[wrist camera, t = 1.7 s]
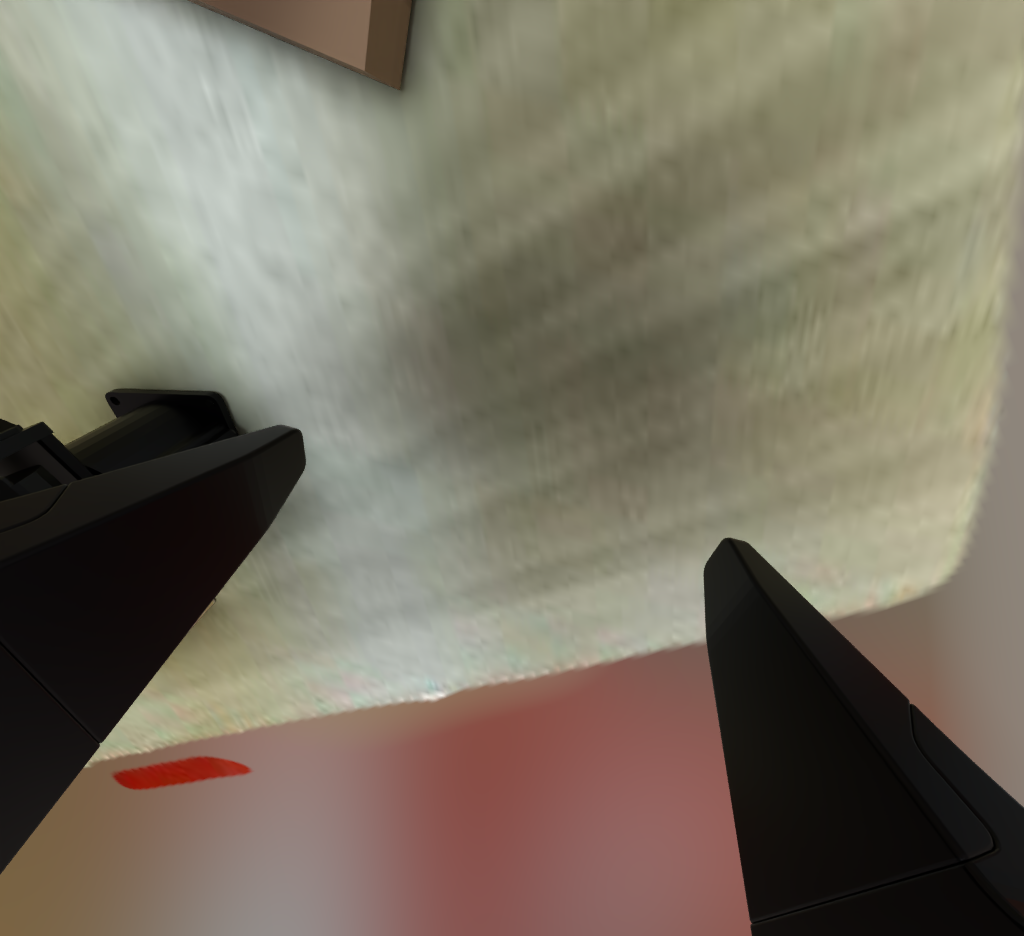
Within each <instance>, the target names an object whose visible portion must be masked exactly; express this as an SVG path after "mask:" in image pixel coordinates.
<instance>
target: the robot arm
mask: <svg viewBox="0 0 1024 936" xmlns="http://www.w3.org/2000/svg"><path fill="white" fill-rule="evenodd" d="M105 398H106V400H107V402H108V404H109V405H110V407H111V409H112V410H113V412H114V414H115V415H116V417H117V418H116V419H114V420H112V421H111V422H109V423H107V424H105V425H103V426H101V427H99V428H97V429H95V430H93V431H91V432H89V433H87V434H86V435H84V436H82V437H80V438H78V439H76V440H74V441H72V442H70V443H68V444H66V445H63V444H62V443H61V442H60V441H59V440H58V439H57V438H56V437H55V436H54V435H53V434H52V433H53V431H52V430H51V429H50V428H49V427H48V426H47V425H46V424H45V423H44V422H43V421H42V422H40V423H37V424H35V425H32V426H29V427H27V428H24V429H23V428H22V427H21V426H20V425H15V424H12V423H10V422H7V421H5V420H2V419H0V874H1V873H2V871H3V870H4V869H5V868H6V866H7V865H8V864H9V863H10V861H11V860H12V858H13V857H14V856H15V855H16V854H17V852H18V851H19V849H20V848H21V847H22V846H23V845H24V843H25V842H26V841H27V839H28V838H29V837H30V835H31V834H32V833H33V832H34V830H35V829H36V828H37V827H38V825H39V824H40V823H41V821H42V820H43V819H44V818H45V816H46V815H47V814H48V812H49V811H50V810H51V809H52V807H53V806H54V805H55V803H56V802H57V801H58V799H59V798H60V797H61V796H62V794H63V793H64V792H65V791H66V789H67V788H68V787H69V785H70V784H71V783H72V781H73V780H74V779H75V778H76V776H77V775H78V774H79V773H80V771H81V770H82V769H83V767H84V766H85V765H86V764H87V762H88V761H89V760H90V758H91V757H92V756H93V755H94V753H95V752H96V751H97V749H98V748H99V747H100V744H99V743H102V742H103V741H104V740H105V739H106V737H107V736H108V735H109V733H110V732H111V731H112V729H113V728H114V727H115V726H116V724H117V723H118V722H119V720H120V719H121V718H122V717H123V715H124V714H125V713H126V711H127V710H128V709H129V708H130V706H131V705H132V704H133V702H134V701H135V700H136V699H137V697H138V696H139V695H140V693H141V692H142V691H143V690H144V688H145V687H146V686H147V684H148V683H149V682H150V681H151V679H152V678H153V677H154V675H155V674H156V673H157V672H158V670H159V669H160V668H161V666H162V665H163V664H164V663H165V661H166V660H167V659H168V657H169V656H170V655H171V654H172V652H173V651H174V650H175V648H176V647H177V646H178V645H179V643H180V642H181V641H182V639H183V638H184V637H185V636H186V634H187V633H188V632H189V630H190V629H191V628H192V626H193V625H194V624H195V623H196V621H197V620H198V619H199V617H200V616H201V615H202V614H203V612H204V611H205V610H206V608H207V607H208V606H209V605H210V603H211V602H212V601H213V599H214V598H215V597H216V596H217V594H218V593H219V592H220V590H221V589H222V588H223V587H224V585H225V584H226V583H227V581H228V580H229V579H230V578H231V576H232V575H233V574H234V572H235V571H236V570H237V569H238V567H239V566H240V565H241V563H242V562H243V561H244V560H245V558H246V557H247V556H248V554H249V553H250V552H251V551H252V549H253V548H254V547H255V545H256V544H257V543H258V542H259V540H260V539H261V538H262V536H263V535H264V534H265V532H266V531H267V530H268V528H269V527H270V525H271V524H272V522H273V521H274V519H275V517H276V516H277V514H278V512H279V511H280V509H281V508H282V506H283V504H284V503H285V501H286V499H287V498H288V496H289V494H290V493H291V491H292V490H293V488H294V486H295V485H296V483H297V481H298V480H299V478H300V476H301V475H302V473H303V471H304V469H305V465H306V458H305V450H304V442H303V436H302V433H301V431H300V430H299V429H297V428H293V427H289V426H285V425H276V426H272V427H269V428H265V429H262V430H258V431H254V432H251V433H247V434H244V435H240V436H239V435H238V433H237V431H236V428H235V426H234V424H233V422H232V419H231V417H230V415H229V412H228V410H227V408H226V406H225V403H224V401H223V399H222V398H221V397H220V396H219V395H218V394H216V393H213V392H194V391H159V390H124V389H115V390H112V391H110V392H108V393H106V395H105ZM210 400H211V401H212V402H213V403H214V404H213V403H212V402H211V401H210ZM704 597H705V623H706V640H707V648H708V656H709V662H710V667H711V675H712V681H713V688H714V694H715V700H716V707H717V713H718V720H719V726H720V732H721V738H722V744H723V751H724V758H725V764H726V771H727V776H728V783H729V789H730V796H731V802H732V809H733V815H734V822H735V828H736V834H737V840H738V847H739V853H740V860H741V866H742V873H743V878H744V886H745V891H746V898H747V905H748V911H749V917H750V921H751V923H752V924H751V932H752V936H1024V807H1023V806H1021V805H1020V804H1019V803H1018V802H1017V801H1016V800H1015V799H1014V798H1013V797H1012V796H1010V795H1009V794H1008V793H1007V792H1006V791H1005V790H1004V789H1003V788H1002V787H1001V786H999V785H998V784H997V783H996V782H995V781H994V780H993V779H992V778H991V777H990V776H988V775H987V774H986V773H985V772H984V771H983V770H982V769H981V768H980V767H979V766H977V765H976V764H975V763H974V762H973V761H972V760H971V759H970V758H969V757H968V756H967V755H966V754H965V753H964V752H963V751H961V750H960V749H959V748H958V747H957V746H956V745H955V744H954V743H953V742H952V741H951V740H950V739H949V738H948V737H947V736H946V735H945V734H944V733H943V732H942V731H940V730H939V729H938V728H937V727H936V726H935V725H934V724H933V723H932V722H931V721H930V720H929V719H928V718H927V717H926V716H925V715H924V714H923V713H922V712H921V711H920V710H919V709H918V708H917V707H916V706H915V705H913V704H910V703H909V700H908V699H907V698H906V697H905V696H904V695H903V694H902V693H901V692H900V691H899V690H898V689H897V688H896V687H895V686H894V685H893V684H892V683H891V682H890V681H889V680H888V679H887V678H886V677H885V676H884V675H883V674H882V673H881V672H880V671H879V670H878V669H877V668H876V667H875V666H874V665H873V664H872V663H871V662H870V661H869V660H868V659H867V658H866V657H864V656H863V655H862V654H861V653H860V652H859V651H858V650H857V649H856V648H855V647H854V646H853V645H852V644H851V643H850V642H849V641H848V640H847V639H846V638H845V637H844V636H843V635H842V634H841V633H840V632H839V631H838V630H837V629H836V628H835V627H834V626H833V625H831V623H830V622H829V621H828V620H827V619H826V618H825V617H823V616H822V615H821V614H820V613H819V612H818V611H817V610H816V609H815V608H814V607H813V606H812V605H811V604H810V603H809V602H808V601H807V600H806V599H805V598H804V597H803V596H802V595H801V594H800V593H799V592H798V591H797V590H796V589H795V588H794V587H793V586H792V585H791V584H790V583H789V582H788V581H787V580H786V579H785V578H783V577H782V576H781V575H780V574H779V573H778V572H777V571H776V570H775V569H774V568H773V567H772V566H771V565H770V564H769V563H768V562H767V561H766V560H765V559H764V558H763V557H762V556H761V555H760V554H759V553H758V552H757V551H756V550H755V549H754V548H753V547H752V546H751V545H750V544H749V543H747V542H745V541H741V540H737V539H733V538H725V539H723V540H722V541H721V542H720V544H719V545H718V547H717V548H716V550H715V551H714V552H713V554H712V555H711V557H710V558H709V560H708V561H707V563H706V565H705V568H704Z"/></svg>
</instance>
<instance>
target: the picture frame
mask: <svg viewBox="0 0 1024 936" xmlns="http://www.w3.org/2000/svg"><path fill="white" fill-rule="evenodd" d="M188 1H191V2H193V3H195V4H198V5H200V6H202V7H205V8H207V9H209V10H212V11H214V12H217V13H219V14H221V15H224V16H226V17H228V18H231V19H233V20H235V21H238V22H240V23H242V24H245V25H247V26H249V27H252V28H254V29H257V30H259V31H261V32H264V33H266V34H268V35H271V36H273V37H275V38H278V39H280V40H282V41H285V42H287V43H289V44H292V45H294V46H297V47H299V48H301V49H304V50H306V51H308V52H311V53H313V54H315V55H318V56H320V57H322V58H325V59H327V60H329V61H332V62H334V63H337V64H339V65H341V66H344V67H346V68H348V69H351V70H353V71H355V72H358V73H360V74H362V75H365V76H367V77H369V78H372V79H374V80H377V81H379V82H381V83H384V84H386V85H388V86H391V87H393V88H395V89H398V90H400V85H401V78H402V71H403V63H404V56H405V49H406V41H407V34H408V27H409V19H410V12H411V5H412V0H188Z"/></svg>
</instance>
